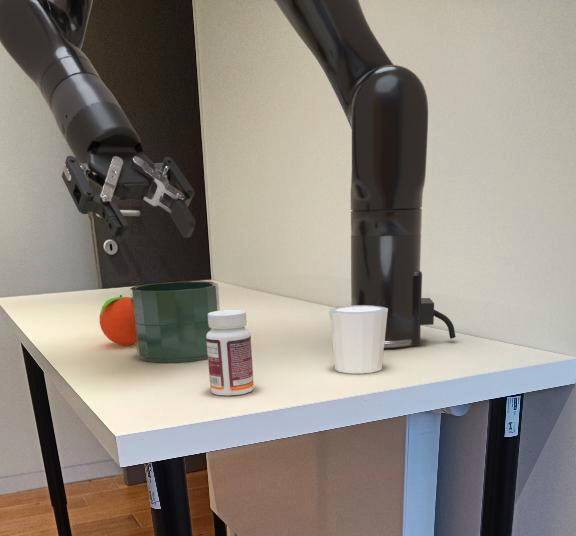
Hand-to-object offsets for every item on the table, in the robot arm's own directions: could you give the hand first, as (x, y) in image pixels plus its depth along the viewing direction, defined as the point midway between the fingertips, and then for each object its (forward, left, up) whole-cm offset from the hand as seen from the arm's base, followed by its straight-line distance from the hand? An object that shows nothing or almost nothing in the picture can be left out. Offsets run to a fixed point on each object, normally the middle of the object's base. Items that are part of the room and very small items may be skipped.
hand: (158, 233), depth 84 cm
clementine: (+12, -22, -16) cm, 30 cm away
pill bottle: (-8, +8, -16) cm, 20 cm away
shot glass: (-22, -2, -16) cm, 28 cm away
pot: (+2, -14, -16) cm, 21 cm away
